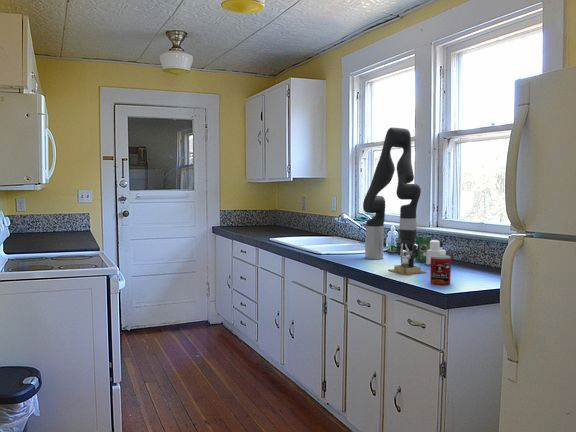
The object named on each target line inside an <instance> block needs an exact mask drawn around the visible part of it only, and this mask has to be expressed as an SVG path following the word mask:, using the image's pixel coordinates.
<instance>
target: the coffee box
mask: <svg viewBox="0 0 576 432" xmlns="http://www.w3.org/2000/svg"><path fill="white" fill-rule="evenodd" d="M431 240H432V236H431V235H422V236H421V235H420V236H419V235H416V239H415V244H416V245H419V251H418V257H417V258H414V263H423V262H425V263H426V251H427V250H430V241H431Z"/></svg>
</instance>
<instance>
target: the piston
mask: <svg viewBox="0 0 576 432" xmlns="http://www.w3.org/2000/svg"><path fill="white" fill-rule="evenodd" d="M411 256H412V254H411ZM402 267H405V268H409V256H408V254H406V255H402Z"/></svg>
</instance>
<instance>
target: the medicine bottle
mask: <svg viewBox="0 0 576 432" xmlns="http://www.w3.org/2000/svg"><path fill="white" fill-rule="evenodd" d="M443 243H444V242H443V240H440V239H431V241H430V250H427V251H426V262H425V264H426V265H427V266H428V265H429V266H431V256H432V255H446V254H447V250H446V249H443V248H444V247H443V245H444V244H443Z"/></svg>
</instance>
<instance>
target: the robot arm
mask: <svg viewBox="0 0 576 432" xmlns="http://www.w3.org/2000/svg"><path fill="white" fill-rule="evenodd" d="M411 136H412V135H411V132H410V130H409V129H407V128H402V127H393V126H392V127H389V128H388V130H387V131H386V134H385V137H384V141H383V144H382V149H381V154H380V156H379V160H378V162H377V164H376V167H375V170H374V173H373V176H372V179H371V183H370V185H369V188H368V190H367V192H366V194H365V196H364V198H363V202H362V203H363V204H362V209H363V211H364V213H366V214H374V216H373V217H371V218H370V219H367V220H366V223H365V242H364V243H365V244H364V249H365V250H364V258H365V259H369V260H383V259H384V238H385V237H384V236H385V234H384V231H385V230H384V229H385V226H384V225H385V224H384V223H385V220H386V219H385V218H386V217H385V215H386V199H385V197H384V196H383V195H378V194H379V193H380V192H381V191H382V190H384V189H385V188H386V187H388V185H389V184H390V183H391V181H392V179H393V177H394V174H395V170H396V173H397V188H396V197H397V198H398V199H399V200H401V201H402V200H407V201H408V200H410V202H409V203H408V204H402V205H401V206H400V208H399V209H400V210H399V214H400V215H399V224H398V225H399V226H398V227H399V235H398V238H399V239H400V241H397V242H396V249H397V250H396V251H397V255H398V256H399V257H400V265H402V255H408V256H409V267H413V266H414V265H415V258H417V257H418V251H419V245H416V236H417V229H418V227H417V224H418V223H417V208H418V203H419V200H420V197H421V194H422V193H421V192H422V190H421V186H420V185H419V184H418V183H412V182H413V181H414V179H415V177H414V176H415V175H414V170H413V166H412V137H411ZM392 148H398V149H399V148H400V149H401V148H402V154H401V156H400V157H399V159H398V161H397V163H396V167H395V164H394V161H393V159H392V155H391V151H392ZM411 255H412V256H411Z"/></svg>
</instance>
